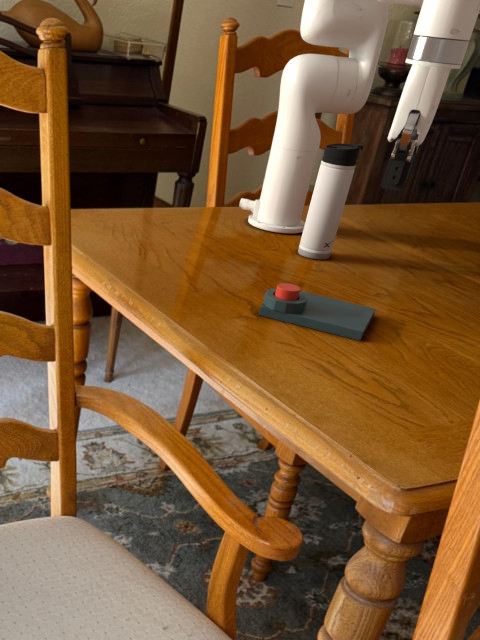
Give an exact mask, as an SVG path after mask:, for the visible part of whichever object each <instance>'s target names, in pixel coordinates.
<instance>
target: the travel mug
mask: <svg viewBox="0 0 480 640" xmlns="http://www.w3.org/2000/svg"><path fill="white" fill-rule="evenodd" d="M363 150H364V145H363V144H362V143H357V144H356V143H330V144H327V145H326V146H325V147H324V150H323V155H322V158H321V161H320V164H319V169H318V171H317V172H318V173H317V177H316V181H315V184H314V188H313V192H312V196H311V200H310V204H309V207H308V210H307V215H306V219H305V221H304V222H305V226H304V230H303V232H301V233H302V234H301V238H300V240H299V241H300V242H299V246H298V250H297V253H298V254H299V255H300V256H302V257H304V258H306V259H311V260H318V261H319V260H320V261H322V260H323V261H324V260H328V259H329V258H330V256H331V254H332V253H331V252H332V249H333V246H334V242H335V240H336V236H337V234H338V233H337V232H338V229H339V226H340V223H341V218H342V215H343V212H344V208H345V205H346V202H347V199H348V194H349V191H350V188H351V185H352V181H353V178H354V173H355V168H356V167H357V162H358V161H357V160H358V159H359V154H360V151H363Z"/></svg>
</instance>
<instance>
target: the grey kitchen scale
mask: <svg viewBox="0 0 480 640" xmlns="http://www.w3.org/2000/svg"><path fill="white" fill-rule="evenodd" d="M276 288H277V287H275V288H269V289H267V290H266V291H265V293H264V296H263V299H262V303H263V304H262V305H261V306H260V308H259V312H258V316H260V317H264V318H269V319H273V320H277V321H281V322H283V323H284V322H285V323H289V324H293V325H296V326H301V327H305V328H308V329H313V330H315V331H316V330H317V331H319V332H320V331H321V332H325V333H328V334H332V335H336V336H339V337H340V336H341V337H343V338H348V339H352V340H356V341H361V340H362V338H363V336H364V335H365V333H366V331H367V329H368V327H369V326H370V324H371V322H372V320H373V318H374V315H375V313H376V308H374V307H369V306H366V305H362V304H357V303H353V302H348V301H344V300H340V299H336V298H332V297H328V296H322V295H319V294H315V293H311V292H306V291H302V290H300V293H299V296H298V300H295V301H288V300H283V299H279V298H277V297H275V292H276Z"/></svg>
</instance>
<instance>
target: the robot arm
mask: <svg viewBox="0 0 480 640" xmlns="http://www.w3.org/2000/svg"><path fill="white" fill-rule="evenodd" d="M390 5H391V6H401V7H410V8H419V9H420V10H419V11H420V12H419V15H418V17H417V21H416V24H415V28H414V32H413V35H412V38H411V41H410V45H409V47H408V52H407V55H406V59H405V60H404V61H405V64H409V65H411V67H410V70H409V72H408V75H407V77H406V79H405V83H404V86H403V89H402V92H401V95H400V98H399V101H398V104H397V107H396V111H395V114H394V117H393V120H392V124H391V127H390V129H389V132H388V136H387V141H388V143H392V142H393V141H394V140H396V141H395V144H394V147H393V150H392V152H391V155H390V158H388V161H387V164H386V168H385V171H384V174H383V176H382V181H381V183H380V188H381V189H384V190H388V191H394V192H402V191H403V190H404V188H405V185H406V182H408V181H409V180H410V178H411V175H412V172H413V169H414V166H415V163H416V160H417V158H418V150H419V146H420V145H422V144H423V142H424V141H425V139H426V137H427V134H428V133H429V130H430V128H431V126H432V124H433V121H434V118H435V116H436V113H437V110H438V107H439V105H440V102H441V100H442V96H443V93H444V91H445V87H446V85H447V81H448V78H449V75H450V72H451V70H461V67H462V64H463V61H464V58H465V56H466V53H467V49H468V46H469V43H470V40H471V37H472V35H473V31H474V29H475V25H476V22H477V20H478V16H479V13H480V0H304V3H303V7H302V13H301V19H300V28H299V29H300V30H299V31H300V37H301V39H302V40H303V41H304V42H305V43H307V44H310V45H313V46H319V47H326V48H327V47H328V48H339V49H347V50H348V57H347V56H336V55H329V54H320V53H302V54H299V55H296V56H294V57H293V58H291V59H289V61H288V62H287V63H286V64H285V66H284V68H283V70H282V74H281V77H280V86H279V98H278V99H279V100H278V109H277V117H276V123H275V127H274V133H273V137H272V142H271V146H270V150H269V155H268V161H267V165H266V170H265V175H264V177H263V182H262V183H263V184H262V188H261V192H260V197H259V198H258V199H255V200H251V199H249V198H244V197H241V198H240V201H239V203H238V204H239V205H238V207H239V208H241V210H244V211H249V212H250V211H251V214H249V215H248V220H247V223H249V225H251V226H253V227H255V228H258V229H260V230H264V231H267V232H272V233H278V234H300V233H303V230H304V226H305V222H306V221H304V220H302V216H303V212H304V209H305V204H306V200H307V197H308V193H309V188H310V184H311V181H312V177H313V174H314V169H315V165H316V162H317V158H318V153H319V149H320V146H321V141H322V139H321V138H322V134H321V129H320V126H319V123H318V121H317V117H316V114H317V113H319V114H321V113H324V114H337V115H353V114H356V113H358V112H359V111H361V110H362V109H363V108H364V106H365V104H366V103H367V100H368V98H369V96H370V93H371V91H372V90H371V89H372V87H373V83H374V79H375V76H376V75H375V74H376V70H377V68H378V67H377V66H378V63H379V59H380V55H381V52H382V47H383V45H384V44H383V43H384V40H385V35H386V33H387V32H386V31H387V27H388V23H389V15H390V14H389V13H390Z"/></svg>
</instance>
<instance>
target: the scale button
mask: <svg viewBox="0 0 480 640" xmlns="http://www.w3.org/2000/svg"><path fill="white" fill-rule="evenodd" d="M275 288H276V292H275V297H277V298H279V299H283V300H288V301H295V300H298V296H299V293H300V291H301V288H300V287H299V285H296V284H293V283H288V282H280V283H278V284H277V286H276V287H275Z"/></svg>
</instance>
